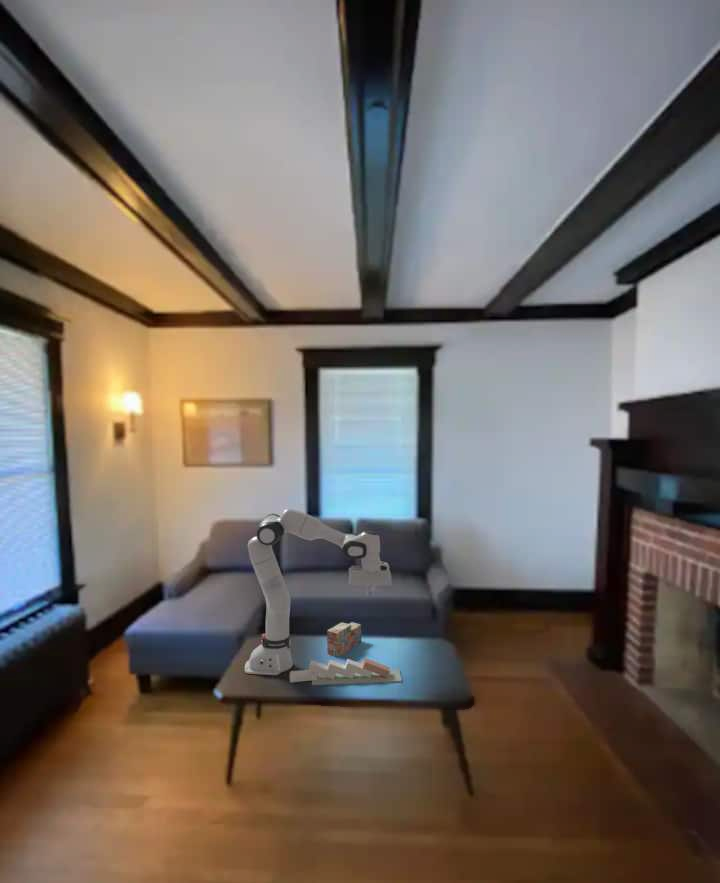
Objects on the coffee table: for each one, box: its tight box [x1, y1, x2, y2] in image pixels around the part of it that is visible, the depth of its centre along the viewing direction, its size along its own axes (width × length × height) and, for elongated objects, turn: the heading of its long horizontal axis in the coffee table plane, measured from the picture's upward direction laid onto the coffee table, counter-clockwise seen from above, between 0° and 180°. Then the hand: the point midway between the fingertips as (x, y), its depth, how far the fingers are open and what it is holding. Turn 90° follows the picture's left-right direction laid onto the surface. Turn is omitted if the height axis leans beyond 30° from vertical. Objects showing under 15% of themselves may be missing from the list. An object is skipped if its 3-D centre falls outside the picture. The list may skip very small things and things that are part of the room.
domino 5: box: [361, 657, 391, 678], centre depth 216 cm, size 3×4×12 cm
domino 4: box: [344, 658, 373, 678], centre depth 216 cm, size 3×4×12 cm
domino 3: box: [327, 659, 355, 679], centre depth 215 cm, size 3×4×12 cm
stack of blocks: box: [326, 621, 362, 658], centre depth 246 cm, size 21×6×12 cm, turn 145°
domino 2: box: [308, 659, 336, 680], centre depth 215 cm, size 3×4×12 cm
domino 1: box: [289, 669, 317, 683], centre depth 214 cm, size 3×4×12 cm
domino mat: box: [311, 669, 403, 686], centre depth 216 cm, size 40×10×1 cm, turn 93°
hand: (370, 594), depth 226 cm, fingers closed
